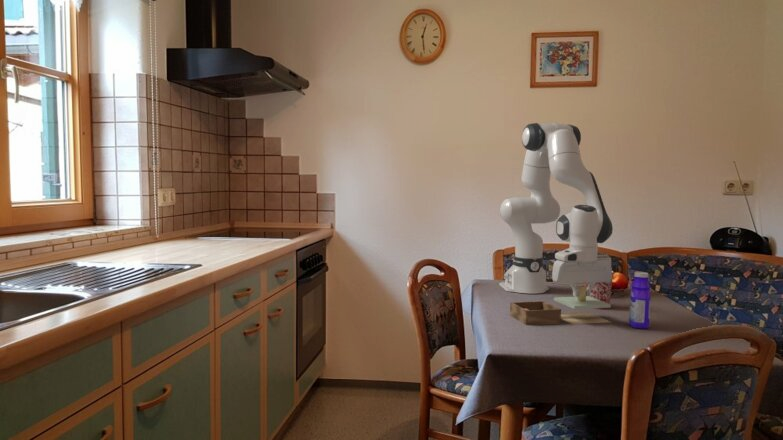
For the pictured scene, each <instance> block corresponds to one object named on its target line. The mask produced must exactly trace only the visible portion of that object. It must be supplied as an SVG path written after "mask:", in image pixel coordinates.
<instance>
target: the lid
mask: <svg viewBox="0 0 783 440" xmlns="http://www.w3.org/2000/svg"><path fill="white" fill-rule="evenodd" d="M586 289H587V286H586V285H584V284H583V285H582V284H577V290H578V291H580V296H576V297H575V296H556V297H553V301H555V302H556V303H559V304H561V305H564V306H567V307H569V308H571V309H574V310H580V309H581V310H583V309H585V310H586V309H595V308H608V309H610V308H611V307H612V304H611V303H610V304H608V303H606V302H603V301H600V300H597V299H595V298H592V297H589V296H586Z"/></svg>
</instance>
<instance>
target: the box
mask: <svg viewBox="0 0 783 440" xmlns="http://www.w3.org/2000/svg"><path fill="white" fill-rule="evenodd" d="M509 304H510V305H509V306H510V307H509V316H511V318H513V319H515V320H517V321H519V322H520V323H522V324H523V325H526V326H529V325H530V326H533V325H555V324H561V322H562V321H561V320H562V319H561V313H562V309H561V308H558V307H557V306H555V305H552V304H550V303H548V302H546V301H541V300H540V301H517V302H516V301H515V302H512V301H511V302H510V303H509ZM525 308H526V309H529V310H526V309H525Z"/></svg>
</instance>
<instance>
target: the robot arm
mask: <svg viewBox="0 0 783 440" xmlns="http://www.w3.org/2000/svg"><path fill="white" fill-rule="evenodd" d="M521 135H522V136H521V142H522V147H524V148H525V149H526V151H525V155H524V159H523V166H522V171H521V177H520V178H521V180H520V181H521V182H522V184H523V186H524V187H526V188H527V189H528V190H530V196H514V197H510V198H505V199H504V200H503V201H502V202H501V204H500V208H499V214H500V216H501V219H502V220H503V221H504V222H505V223H506V224H507V225H508V226H509V227H510V229H511V231H512V234H513V237H514V256H513V257H512V265H511V266H510V267H509V268H508V270H507V271H505V273H504V274H503V280H504V281H501V282H499V284H498V285H499V286H500V287H501V288H502V289H504V290H505V291H506V292H512V293H518V294H519V293H520V294H530V295H531V294H543V293H546V291H549V289H550V288H549V286H547V277H546V274H547V273H546V270H545V269H544V268H543V267H544V257H543V252H544V251H543V247H544V242H543V238H542V237H541V235H539V234H538V233H537V232H534V229H533V228H532V227H533V226H532V224H533V225H534V224H536V225H537V224H547V223H552V222H556V225H555V232H556V236H557V237H558V238H560V240H562V241H565V242H569V244H568V245H569V247H568V248H565V249H564V250H559V251H558V252H556V253H554V258H555V259H556V260H555V261H554V262H553V266H552V273H551V274H552V275H551V279H552V281H553V282H554V283H555V284H569V286H570V288H571V290H572V297H578V296H580V291H578V288H577V287H578V284H586V285H587V286H586V296H590V295H591V290H592V289H593V287H594V283H595V282H610V281H611V280H612V281H613V277H612V271H613V269H612V257H611V256H610V255H608V254H607V253H603V254H600V253H599V252H598V251H599V250H598V249H599V245H598V244H603V243H605V242H607V240H609V239H610V237H612V234H613V228H614V227H613V223H612V221H611V219H610V216H609V214H608V213H607V210H606V208H605V205H604V201H603V198H602V195H601V192H600V189H599V186H598V184H597V180H596V178H595V176H594V174H593V172H591V171H589V170H588V169H587V168H586V166H585V165H584V162H583V160H582V157H581V156H582V155H581V152H580V151H581V150H580V144H581V141H582V133H581V131H580V129H579V128H578V127H577V126H576V125H573V124H564V123H557V122H551V123H550V122H549V123H548V122H547V123H546V122H545V123H544V122H543V123H538V122H533V123H528V124H527V125H526V126H525V127H524V128H523V131H522V134H521ZM551 176H552V177H553V178H554V179H555V180H556V181H558V182H559V183H561V184H564V185H566V186H570V187H572V188H574V189H576V190H578V191H580V193H582V195H583V196H584V198H585V201H586V204H577V205H573V207H572V208H571V210H570V212H568V213H565V214H562V215H561V216H560V214H561V206H560V203H559V202H558V200H557V199H555V197H554V196H553V194H552V192H551V186H550V184H551V183H550V180H551ZM598 253H599V254H598Z"/></svg>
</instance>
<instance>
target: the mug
mask: <svg viewBox="0 0 783 440" xmlns="http://www.w3.org/2000/svg"><path fill="white" fill-rule="evenodd" d="M614 273H615V272H614V271H613V270H612V278H613V277H614V276H613V275H614ZM612 284H613V279H612V280H611V281H610V282H595V283H594V287H593V289H592V290H591V295H590V296H589V297H592V298H595V299H597V300H600V301H603V302H606V303H608V304H611V303H610V301H611V294H612V286H613V285H612ZM594 309H596V310H607V309H609V308H594Z"/></svg>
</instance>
